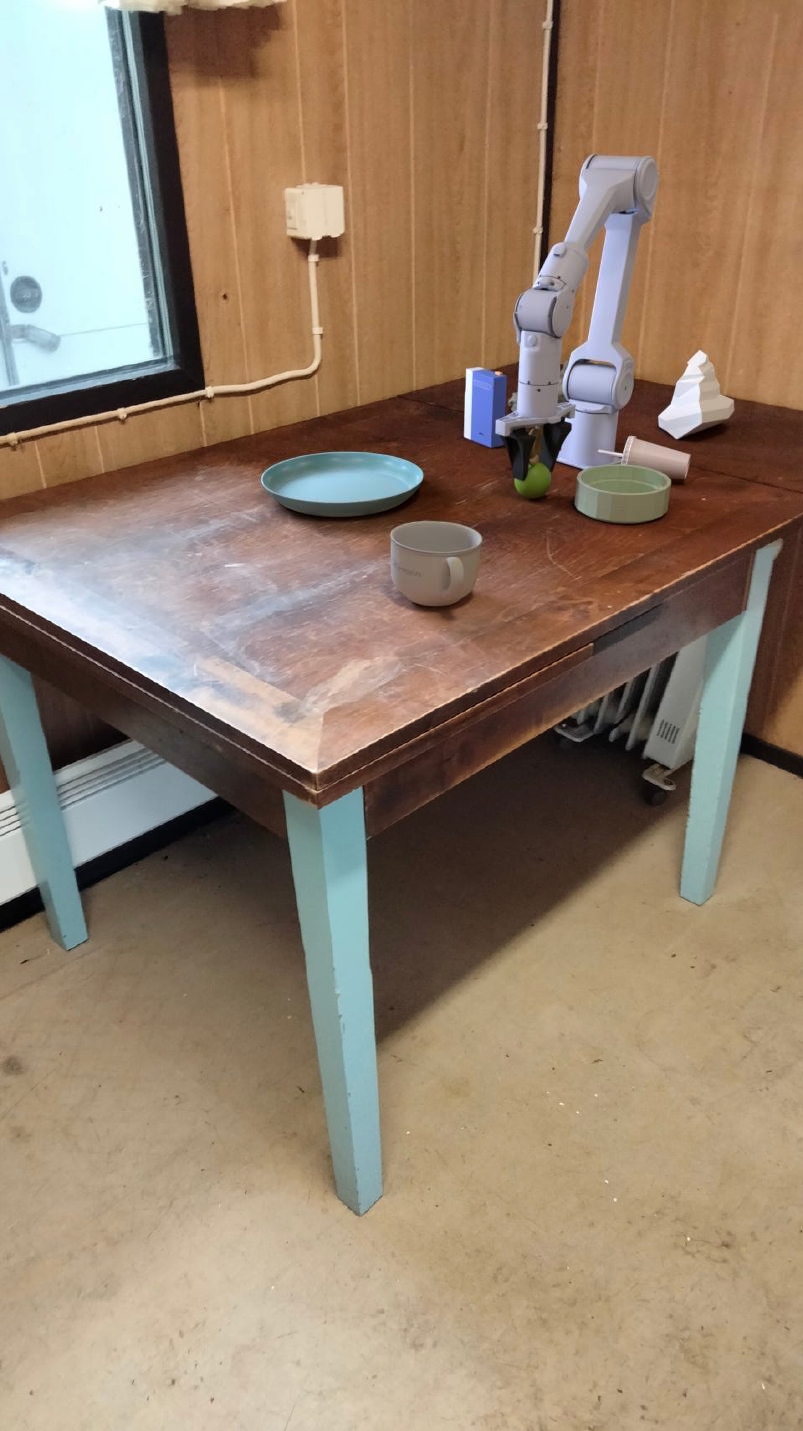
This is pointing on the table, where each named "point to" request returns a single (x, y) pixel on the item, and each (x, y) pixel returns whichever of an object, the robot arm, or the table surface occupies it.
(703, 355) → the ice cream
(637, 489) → the bowl
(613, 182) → the robot arm
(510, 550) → the table surface
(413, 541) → the teacup
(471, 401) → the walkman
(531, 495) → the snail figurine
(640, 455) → the smoothie
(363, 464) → the teal plate
